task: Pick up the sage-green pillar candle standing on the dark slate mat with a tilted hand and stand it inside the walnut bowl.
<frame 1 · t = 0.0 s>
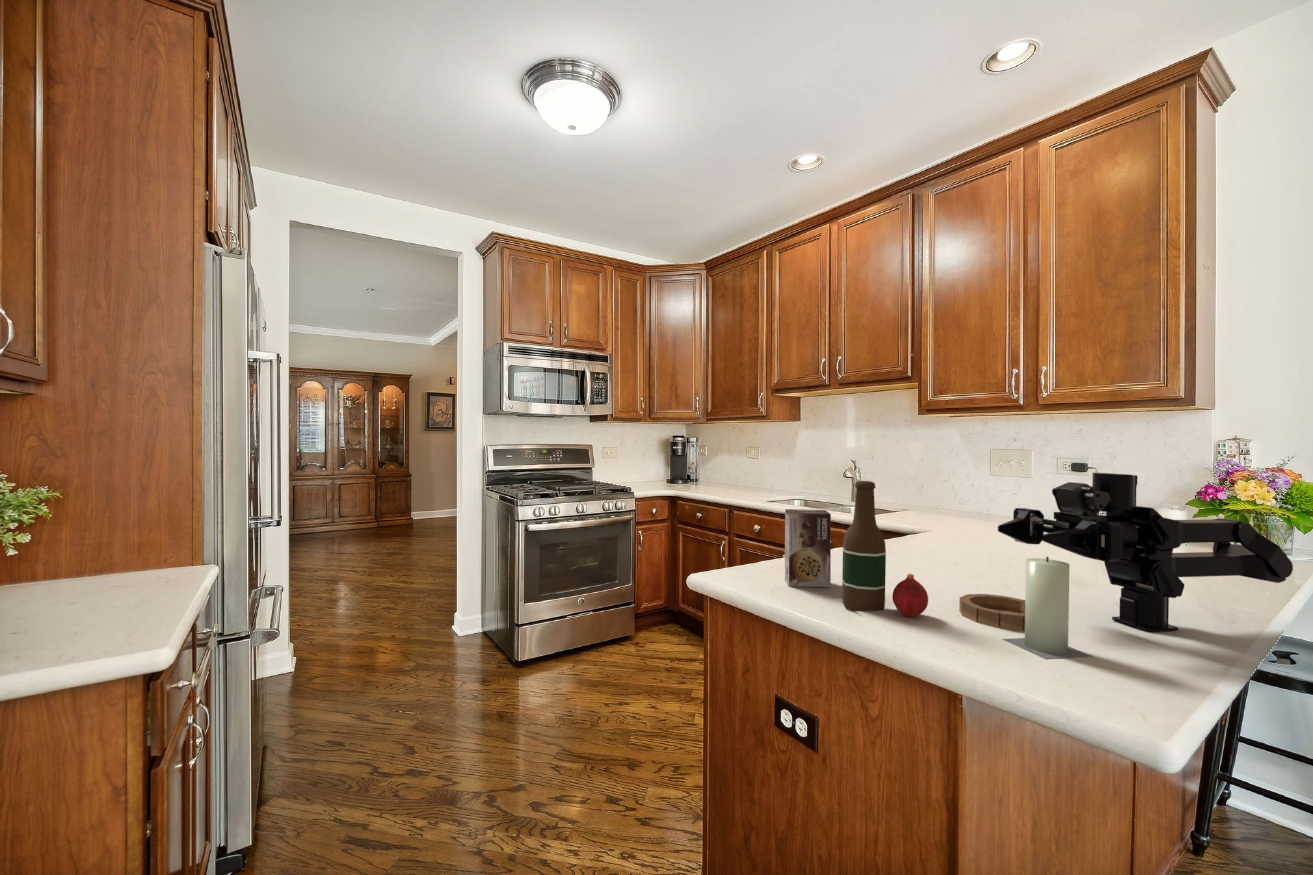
hand: (1019, 533, 93), 17 cm above the counter, tool horizontal, fingers open, 9 cm apart
coffee box: (806, 584, 121), on the counter
bowl: (1002, 621, 98), on the counter
beer bottle: (862, 609, 104), on the counter
mat: (1045, 651, 84), on the counter
candle: (1045, 647, 84), point 1 cm above the counter, touching mat
onion: (909, 620, 98), on the counter
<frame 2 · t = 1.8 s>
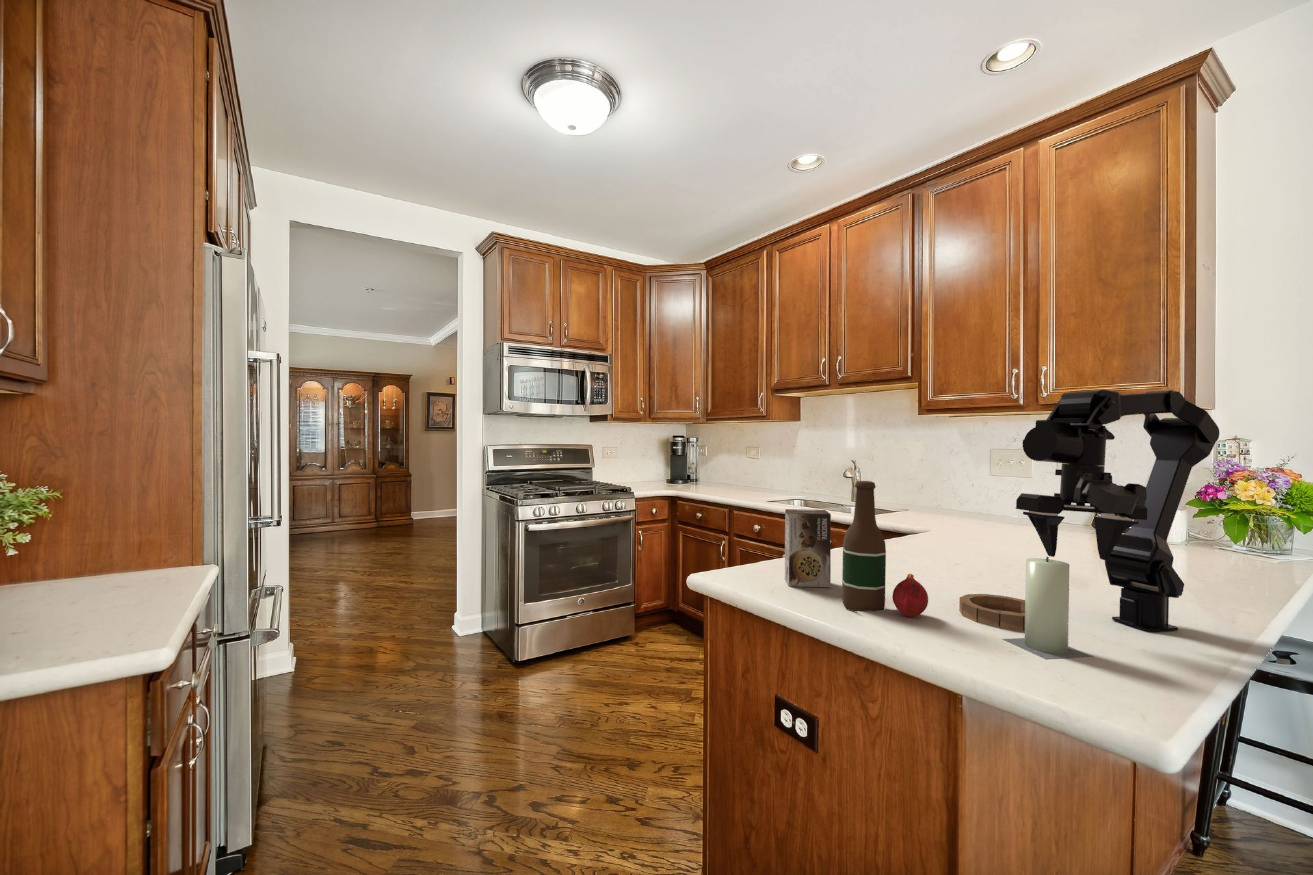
hand: (1077, 558, 92), 13 cm above the counter, tool pointing down, fingers open, 9 cm apart
nothing on the counter moved.
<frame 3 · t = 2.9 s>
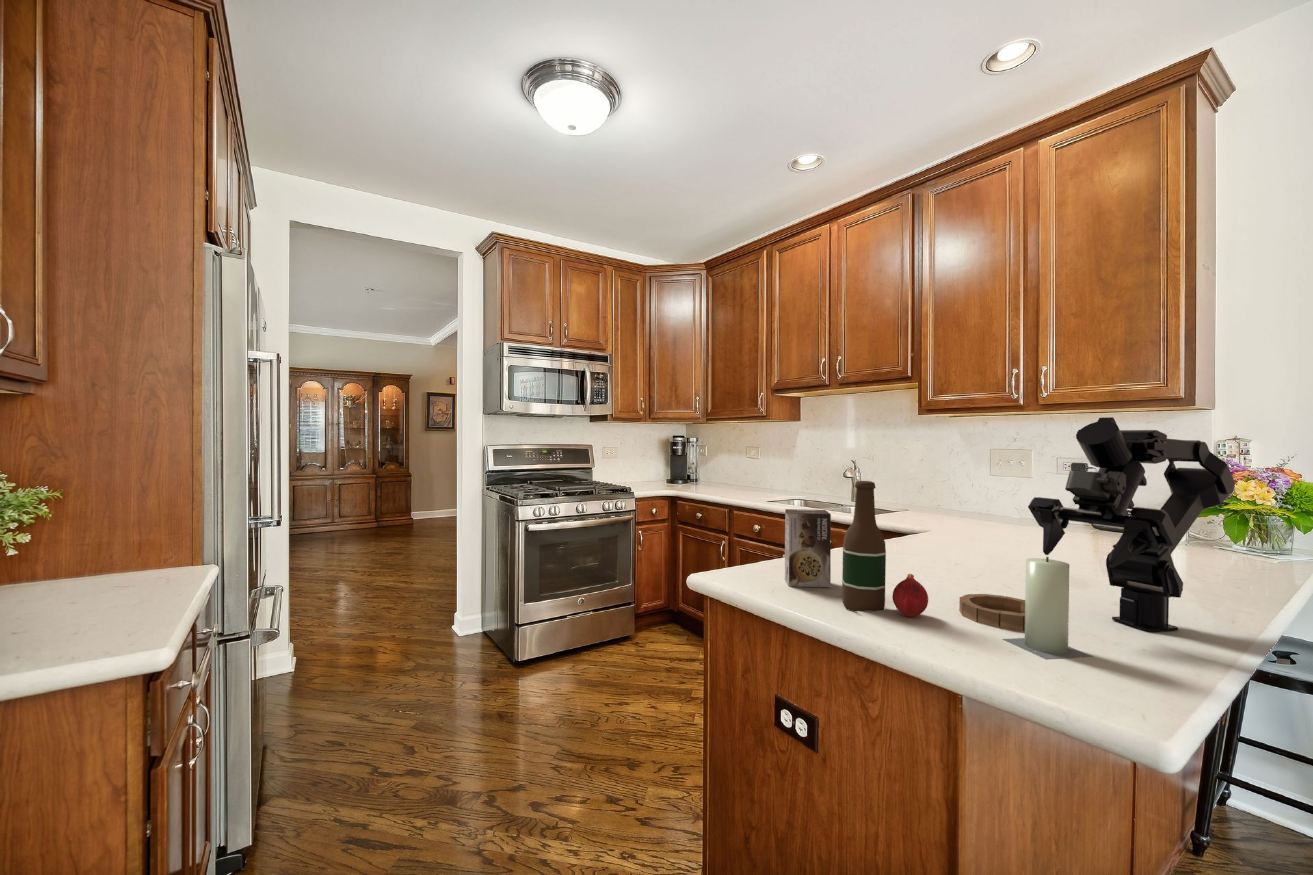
hand: (1076, 559, 87), 13 cm above the counter, tool tilted 45°, fingers open, 9 cm apart
nothing on the counter moved.
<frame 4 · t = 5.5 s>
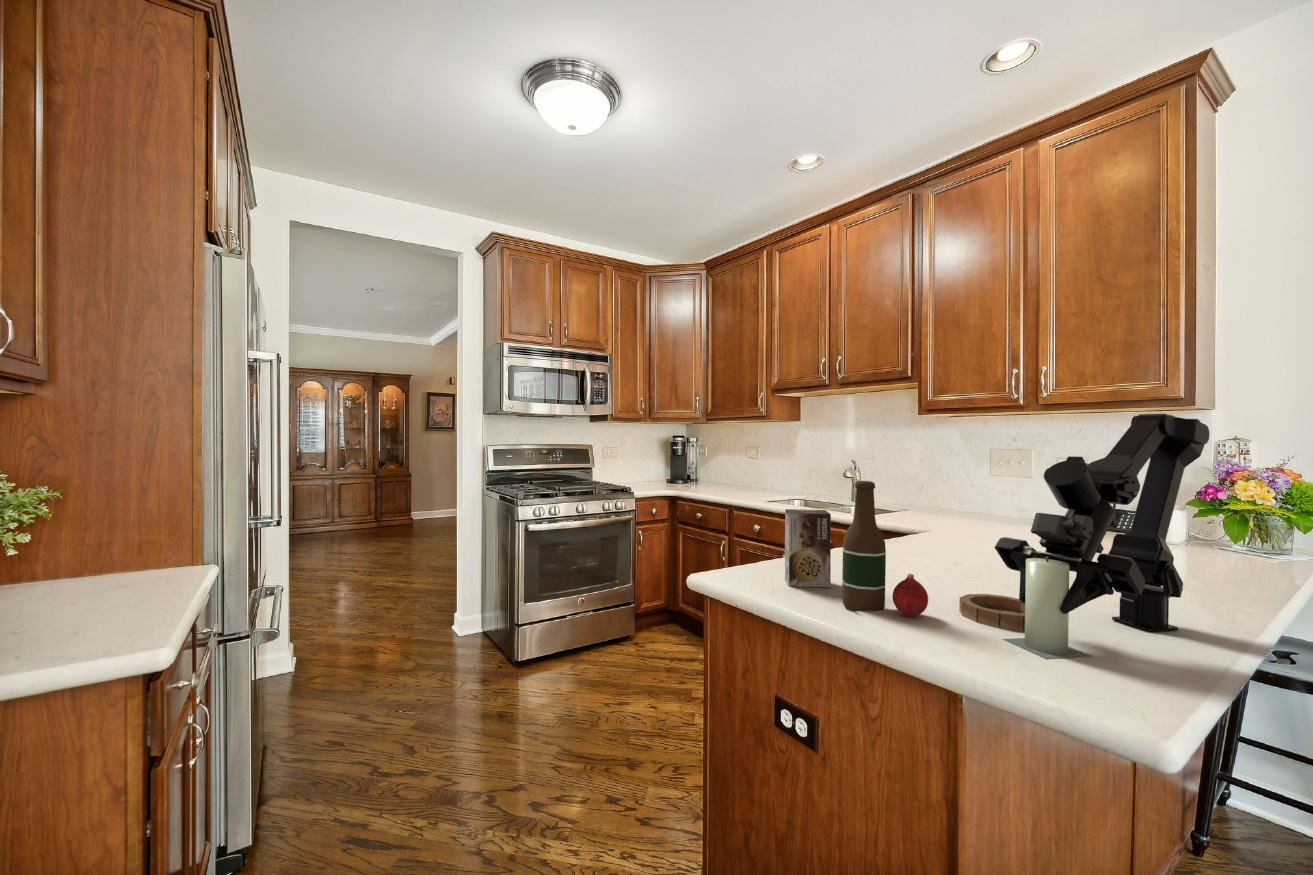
hand: (1041, 606, 83), 7 cm above the counter, tool tilted 45°, fingers closed on candle, 5 cm apart
candle: (1045, 647, 84), point 1 cm above the counter, touching gripper, mat
everything else where it was.
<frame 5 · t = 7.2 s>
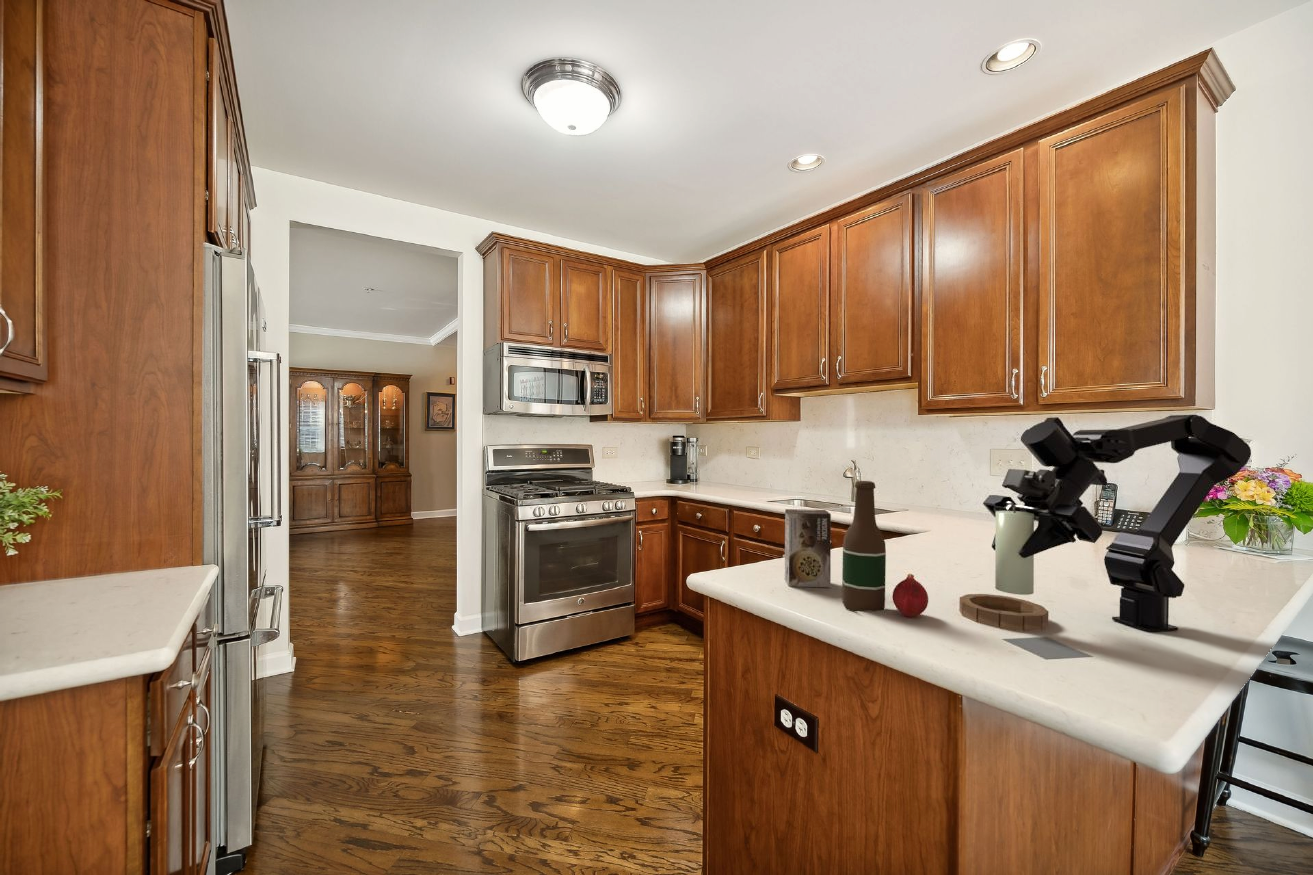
hand: (1007, 552, 92), 13 cm above the counter, tool tilted 45°, fingers closed on candle, 5 cm apart
candle: (1014, 590, 92), point 7 cm above the counter, touching gripper
everything else where it was.
when the fingers open (9 cm above the counter, at t = 9.2 s): candle drops 1 cm, resting on bowl.
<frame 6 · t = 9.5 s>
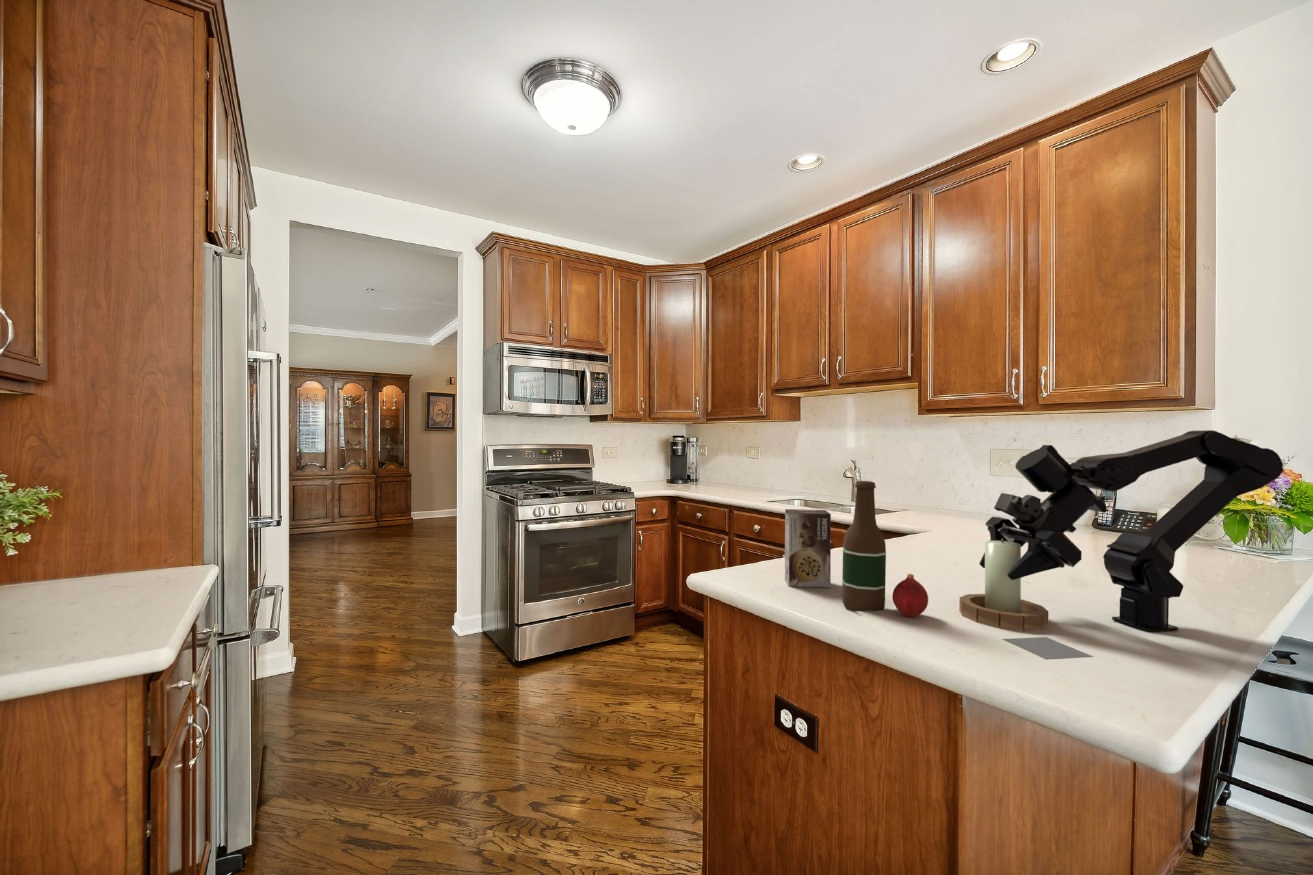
hand: (994, 571, 98), 9 cm above the counter, tool tilted 45°, fingers open, 8 cm apart
candle: (1002, 616, 98), point 1 cm above the counter, touching bowl
everything else where it was.
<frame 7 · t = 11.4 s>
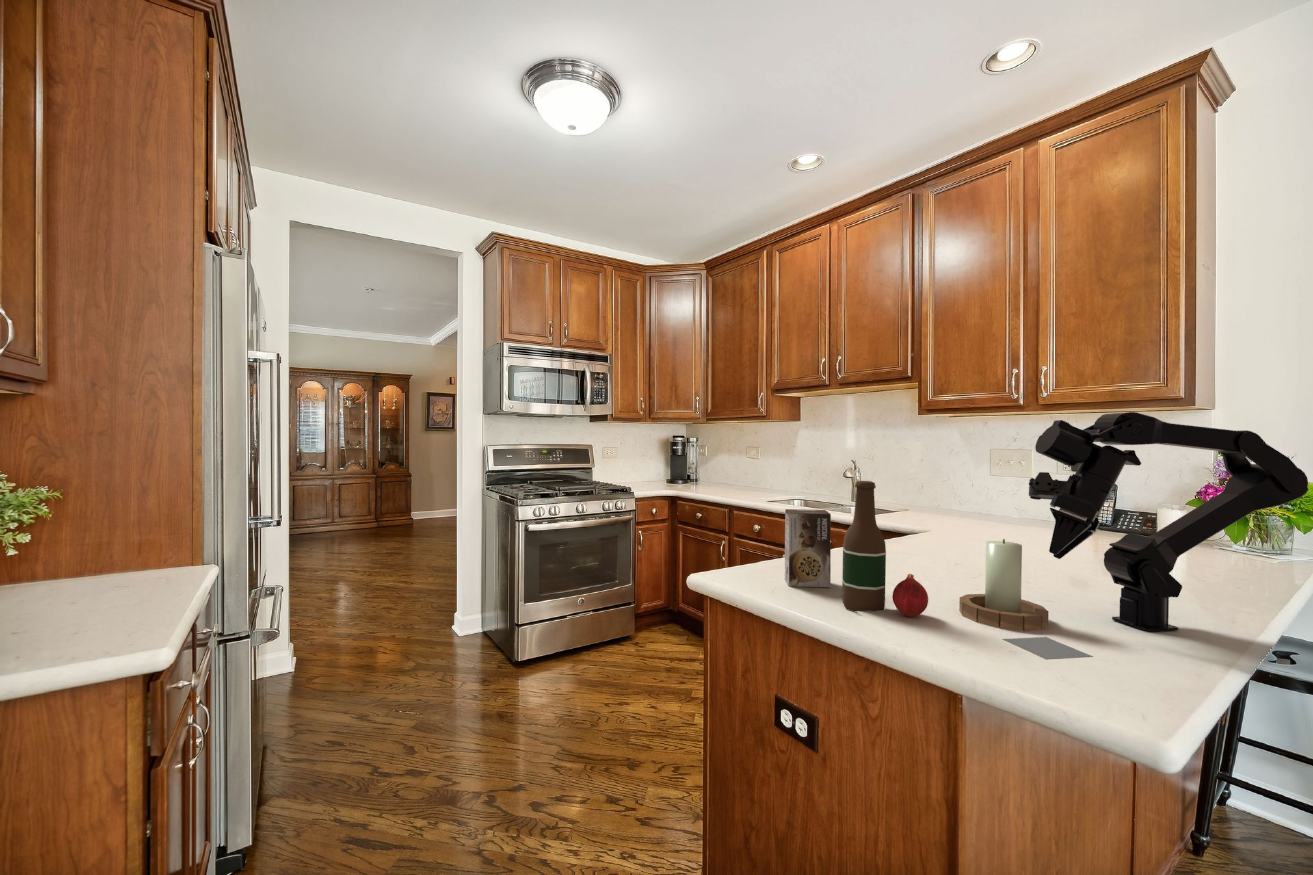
hand: (1054, 555, 99), 12 cm above the counter, tool tilted 25°, fingers open, 9 cm apart
nothing on the counter moved.
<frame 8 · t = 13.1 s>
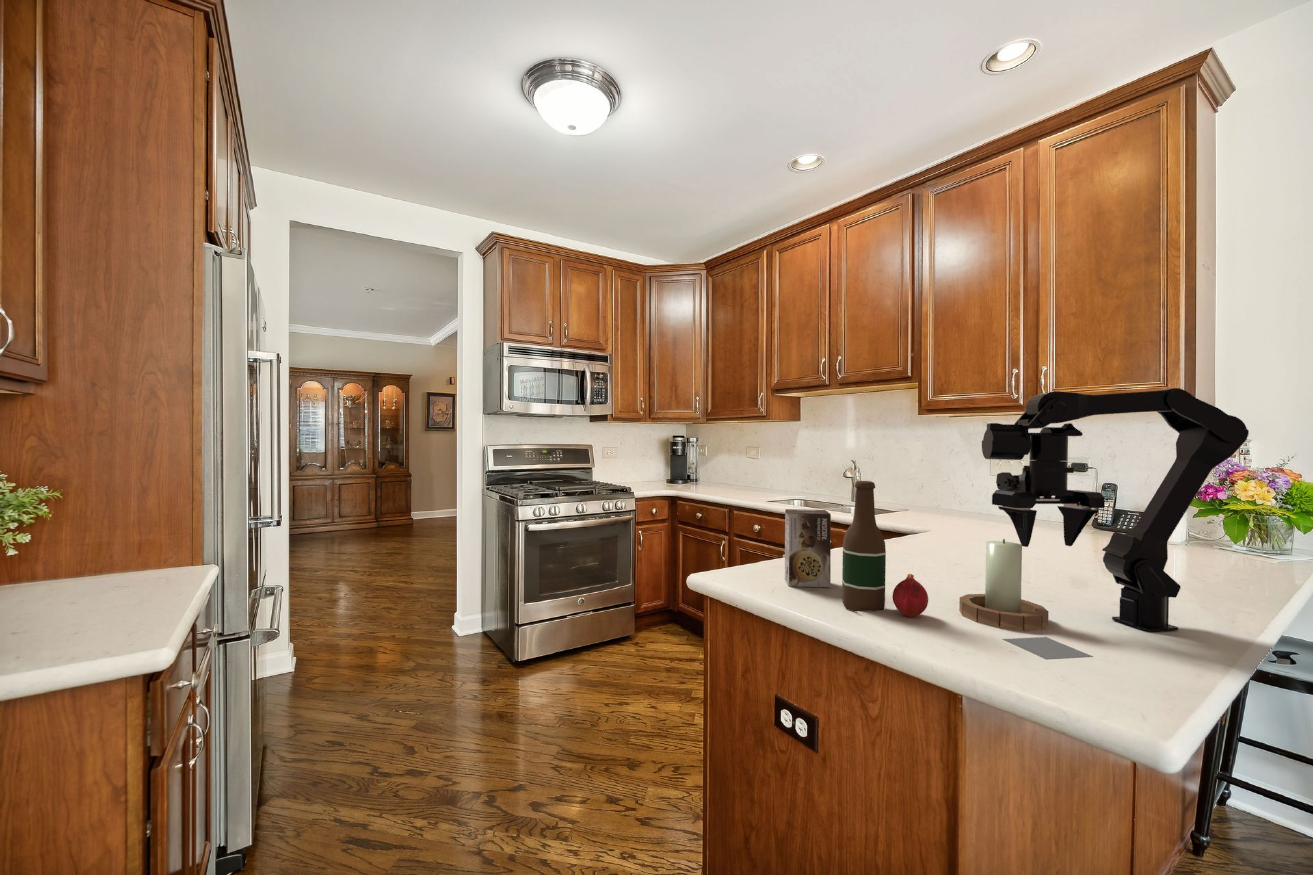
hand: (1046, 546, 100), 13 cm above the counter, tool pointing down, fingers open, 9 cm apart
nothing on the counter moved.
at the end: candle inside the target area on the bowl (0.1 cm from its centre), point 0.8 cm above the bowl's base; candle tilted 0°; the gripper is holding nothing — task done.
